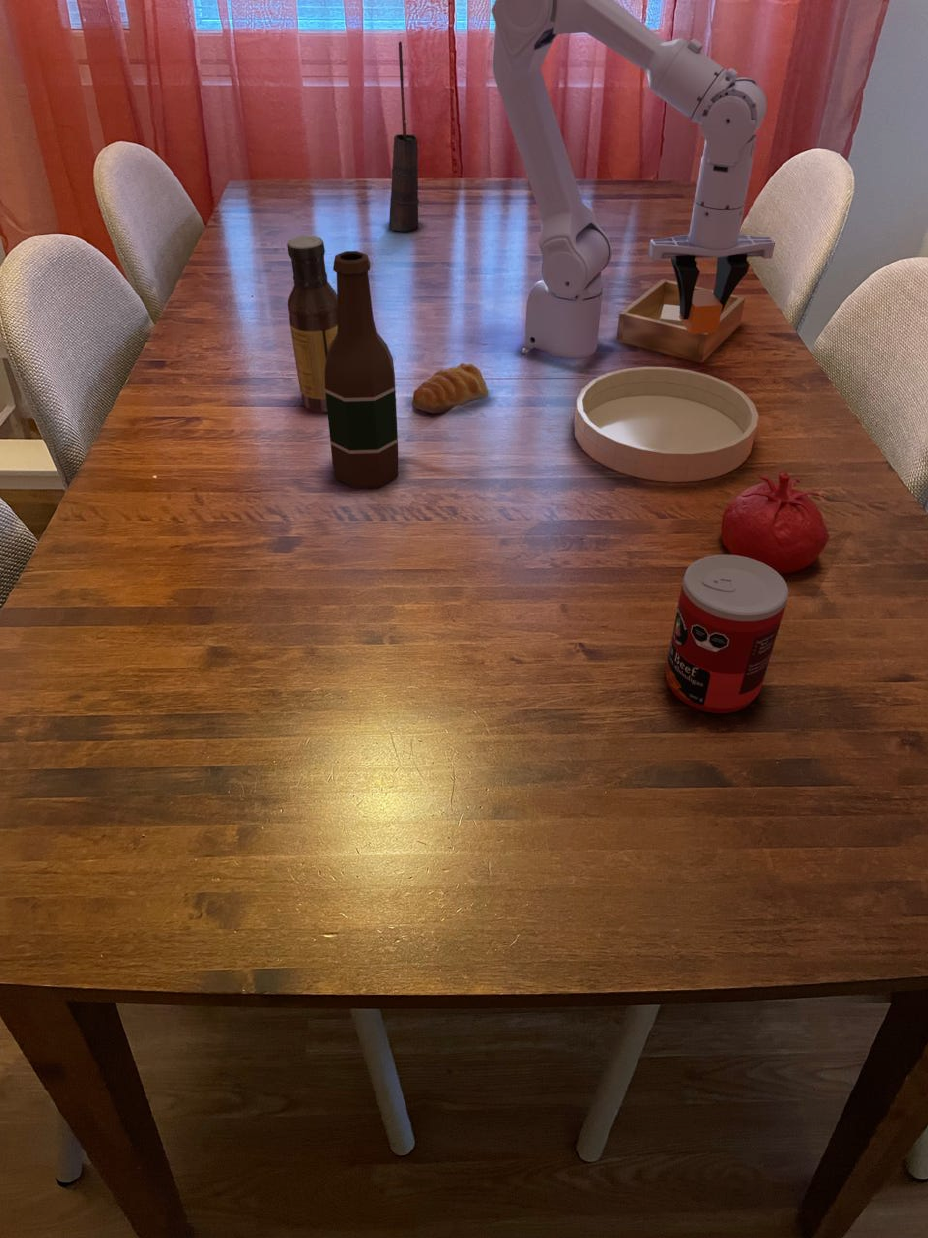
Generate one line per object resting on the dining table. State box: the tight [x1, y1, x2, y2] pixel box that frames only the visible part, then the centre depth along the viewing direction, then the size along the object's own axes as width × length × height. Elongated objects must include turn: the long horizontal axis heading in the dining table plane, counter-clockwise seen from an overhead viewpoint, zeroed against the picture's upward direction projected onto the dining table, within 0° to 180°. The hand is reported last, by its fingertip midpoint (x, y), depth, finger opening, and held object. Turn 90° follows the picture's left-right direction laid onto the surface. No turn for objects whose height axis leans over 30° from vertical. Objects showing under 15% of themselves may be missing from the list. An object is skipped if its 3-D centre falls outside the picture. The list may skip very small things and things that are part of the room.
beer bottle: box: [325, 250, 399, 489], centre depth 98 cm, size 8×8×24 cm
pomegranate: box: [720, 471, 830, 575], centre depth 91 cm, size 10×10×9 cm
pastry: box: [411, 362, 489, 415], centre depth 117 cm, size 9×7×4 cm
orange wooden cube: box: [679, 289, 723, 334], centre depth 117 cm, size 4×5×4 cm
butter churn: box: [388, 40, 420, 233], centre depth 156 cm, size 9×10×28 cm
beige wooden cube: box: [660, 304, 685, 327], centre depth 130 cm, size 4×5×4 cm
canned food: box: [665, 554, 789, 714], centre depth 77 cm, size 8×8×11 cm
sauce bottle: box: [286, 235, 338, 414], centre depth 111 cm, size 6×6×20 cm
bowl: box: [573, 366, 760, 483], centre depth 110 cm, size 20×20×4 cm
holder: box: [615, 278, 746, 364], centre depth 132 cm, size 13×15×4 cm
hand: (699, 315), depth 118 cm, fingers closed on orange wooden cube, 3 cm apart
